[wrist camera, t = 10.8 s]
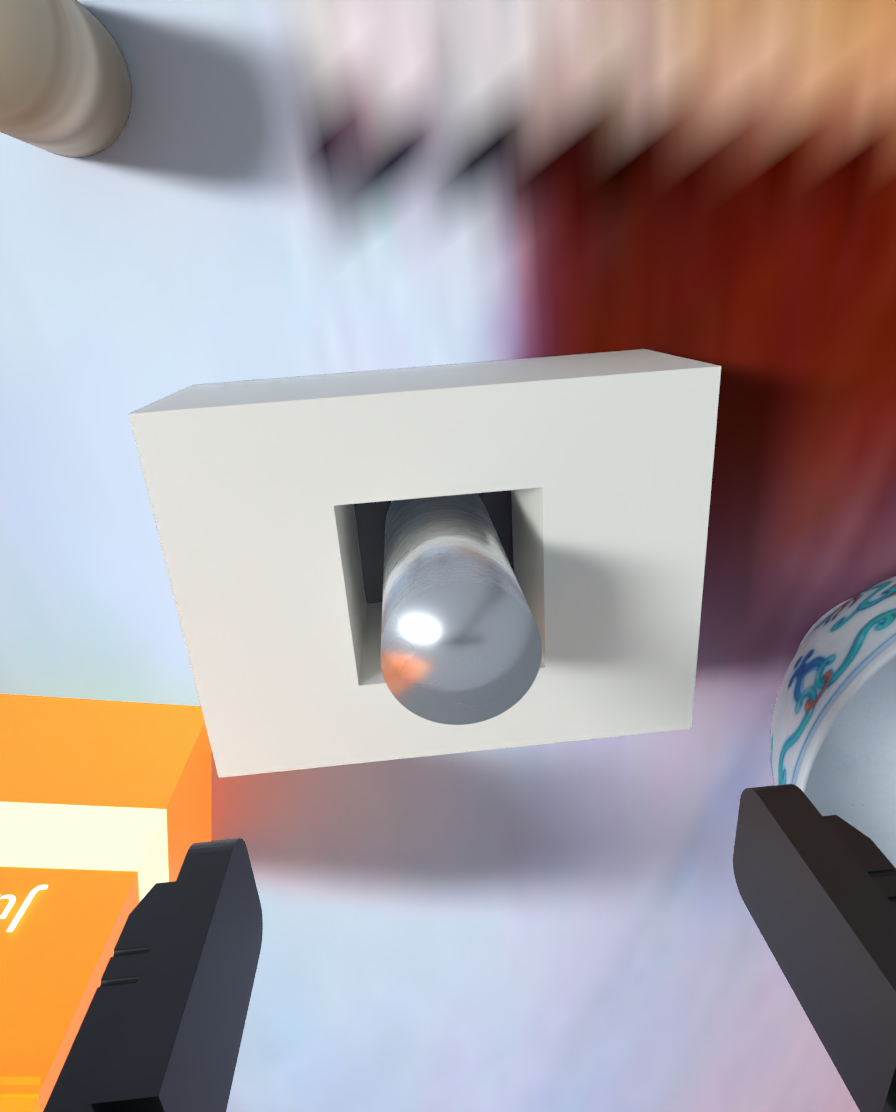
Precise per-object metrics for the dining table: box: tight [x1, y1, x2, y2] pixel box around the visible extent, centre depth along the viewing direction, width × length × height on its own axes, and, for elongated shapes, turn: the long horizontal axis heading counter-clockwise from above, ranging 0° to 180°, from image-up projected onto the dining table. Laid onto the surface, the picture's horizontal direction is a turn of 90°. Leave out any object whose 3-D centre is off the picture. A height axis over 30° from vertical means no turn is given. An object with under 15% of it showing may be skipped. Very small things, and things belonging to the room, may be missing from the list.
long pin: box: [381, 493, 542, 725], centre depth 21 cm, size 4×4×10 cm
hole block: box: [129, 349, 721, 778], centre depth 23 cm, size 16×12×6 cm
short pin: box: [0, 0, 132, 157], centre depth 17 cm, size 4×4×5 cm
